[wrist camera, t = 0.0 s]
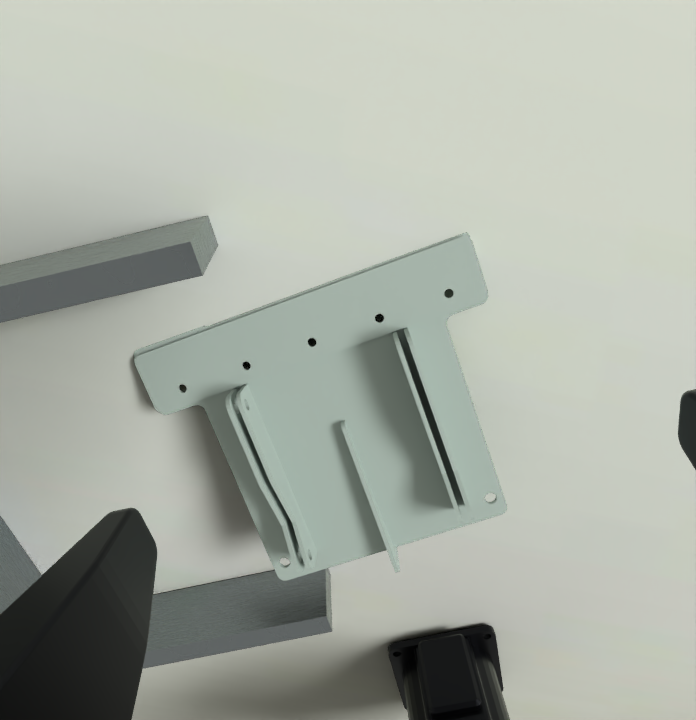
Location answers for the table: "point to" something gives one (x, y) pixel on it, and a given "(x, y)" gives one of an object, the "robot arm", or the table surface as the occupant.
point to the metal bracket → (343, 409)
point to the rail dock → (190, 605)
